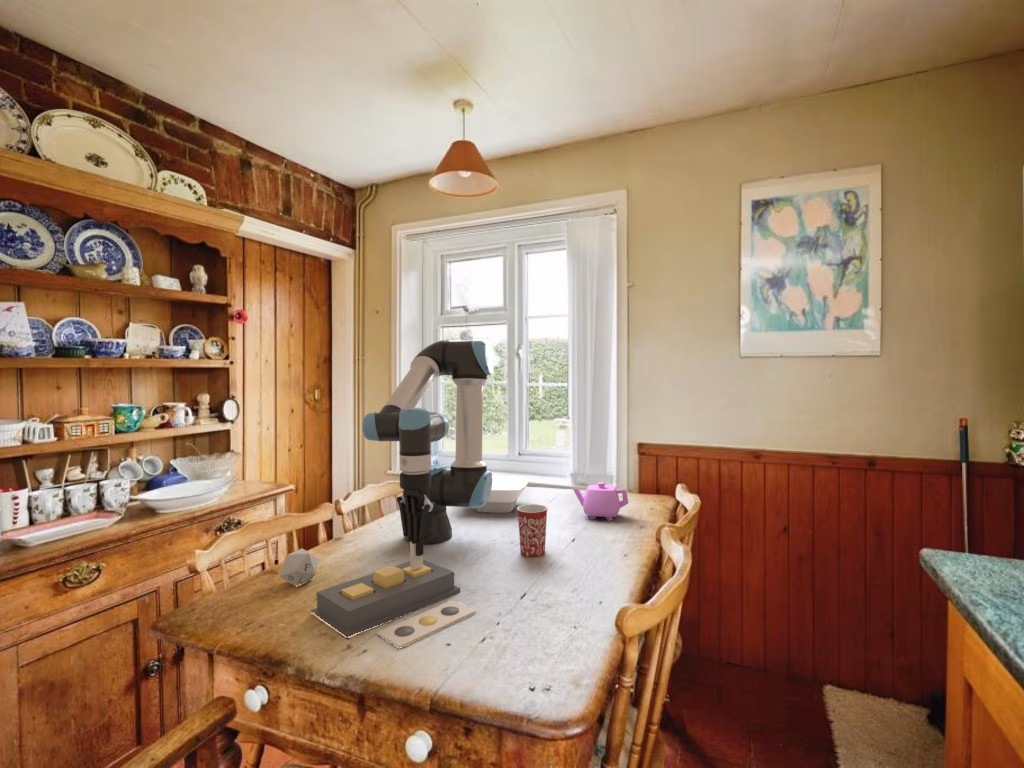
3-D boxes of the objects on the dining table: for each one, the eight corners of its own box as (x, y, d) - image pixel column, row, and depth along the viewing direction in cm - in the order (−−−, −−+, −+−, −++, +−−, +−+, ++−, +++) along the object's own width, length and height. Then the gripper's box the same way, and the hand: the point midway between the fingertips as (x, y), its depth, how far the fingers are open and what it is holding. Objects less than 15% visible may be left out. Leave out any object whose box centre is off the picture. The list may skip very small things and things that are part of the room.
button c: (402, 585, 124) (402, 568, 124) (419, 578, 128) (418, 563, 128) (414, 590, 121) (414, 574, 121) (431, 584, 125) (431, 568, 125)
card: (376, 635, 104) (376, 631, 104) (452, 602, 118) (452, 599, 118) (399, 649, 98) (399, 645, 98) (475, 613, 113) (475, 610, 113)
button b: (373, 588, 119) (373, 571, 118) (391, 581, 122) (391, 565, 122) (385, 594, 115) (385, 576, 115) (403, 587, 119) (403, 570, 119)
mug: (539, 560, 145) (539, 513, 144) (512, 555, 149) (511, 509, 149) (558, 547, 155) (557, 503, 155) (531, 542, 160) (531, 500, 160)
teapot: (629, 513, 192) (628, 480, 192) (627, 523, 180) (627, 487, 180) (576, 510, 197) (575, 478, 197) (571, 519, 185) (571, 484, 185)
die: (275, 594, 126) (293, 565, 124) (273, 566, 133) (291, 538, 130) (308, 596, 131) (326, 569, 129) (304, 569, 138) (322, 542, 136)
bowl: (471, 500, 216) (471, 476, 216) (530, 501, 212) (530, 477, 212) (457, 515, 192) (457, 488, 192) (523, 517, 188) (523, 490, 188)
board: (310, 614, 113) (310, 592, 113) (420, 574, 135) (420, 556, 135) (346, 639, 102) (346, 614, 102) (460, 592, 124) (459, 571, 124)
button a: (341, 607, 113) (341, 589, 113) (362, 600, 116) (361, 582, 116) (353, 614, 109) (352, 596, 109) (373, 606, 113) (373, 588, 113)
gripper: (387, 470, 126) (388, 565, 126) (418, 477, 117) (420, 579, 117) (412, 466, 131) (413, 557, 132) (444, 472, 122) (445, 570, 123)
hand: (416, 567), depth 124 cm, fingers closed
